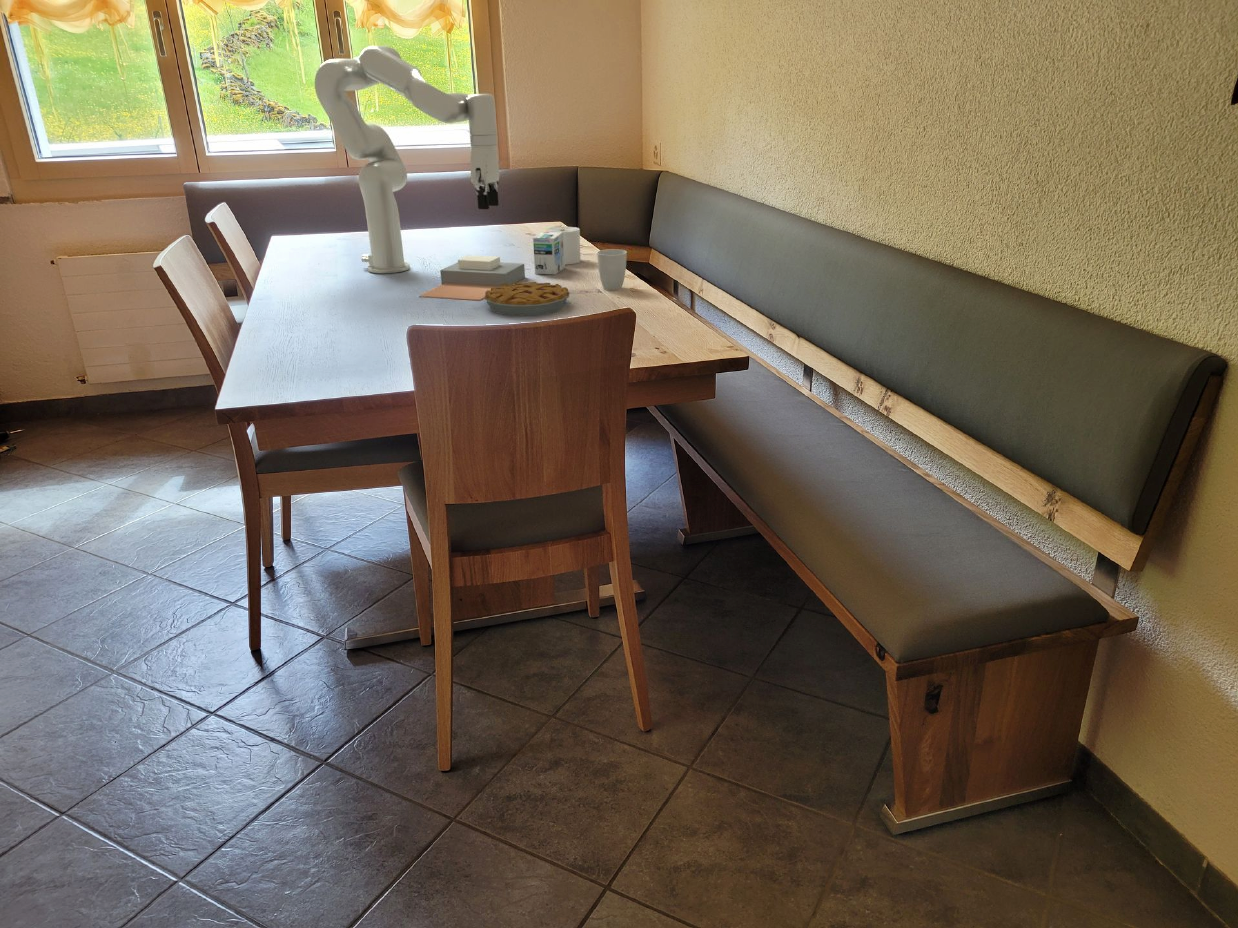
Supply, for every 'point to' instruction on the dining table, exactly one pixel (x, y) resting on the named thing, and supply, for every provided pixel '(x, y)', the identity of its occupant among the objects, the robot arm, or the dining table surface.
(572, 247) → the toilet tissue
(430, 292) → the mat
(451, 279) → the grey flat slab
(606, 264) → the cup
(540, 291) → the pie
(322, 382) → the dining table surface
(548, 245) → the light bulb box
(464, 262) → the cream rectangular block
